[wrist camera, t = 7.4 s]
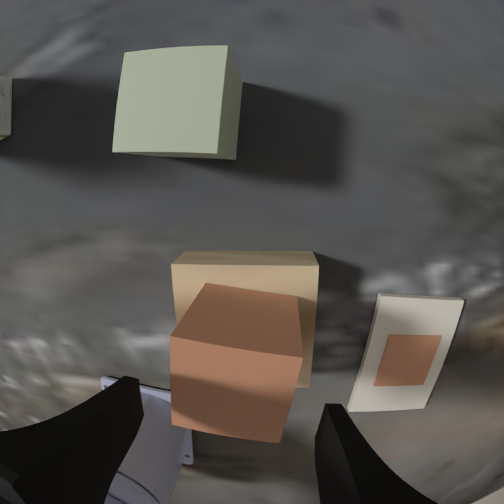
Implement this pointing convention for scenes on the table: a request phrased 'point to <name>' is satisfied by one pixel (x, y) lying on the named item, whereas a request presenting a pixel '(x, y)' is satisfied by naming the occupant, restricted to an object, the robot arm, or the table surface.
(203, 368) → the terracotta block
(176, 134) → the sage green block
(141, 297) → the table surface
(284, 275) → the birch block
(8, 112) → the syrup box
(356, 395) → the card
